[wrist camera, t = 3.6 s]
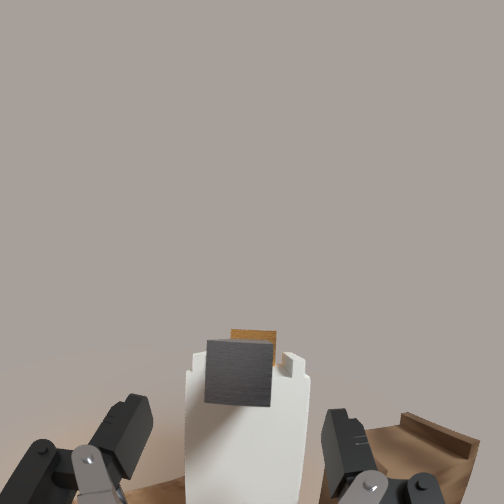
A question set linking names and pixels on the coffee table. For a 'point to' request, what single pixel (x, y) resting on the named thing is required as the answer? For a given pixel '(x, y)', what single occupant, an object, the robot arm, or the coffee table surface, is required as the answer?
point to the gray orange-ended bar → (240, 369)
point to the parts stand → (246, 440)
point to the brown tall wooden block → (420, 455)
